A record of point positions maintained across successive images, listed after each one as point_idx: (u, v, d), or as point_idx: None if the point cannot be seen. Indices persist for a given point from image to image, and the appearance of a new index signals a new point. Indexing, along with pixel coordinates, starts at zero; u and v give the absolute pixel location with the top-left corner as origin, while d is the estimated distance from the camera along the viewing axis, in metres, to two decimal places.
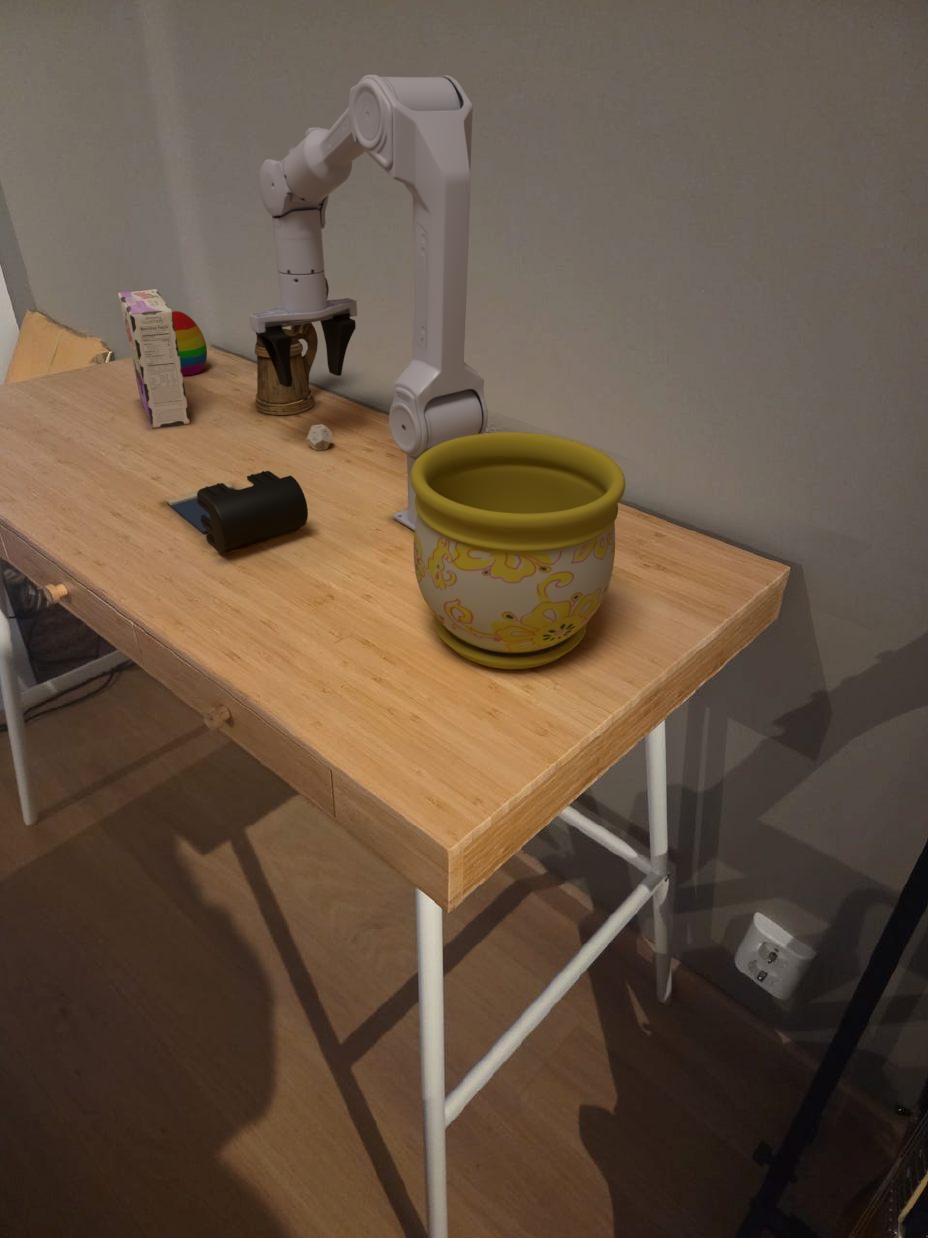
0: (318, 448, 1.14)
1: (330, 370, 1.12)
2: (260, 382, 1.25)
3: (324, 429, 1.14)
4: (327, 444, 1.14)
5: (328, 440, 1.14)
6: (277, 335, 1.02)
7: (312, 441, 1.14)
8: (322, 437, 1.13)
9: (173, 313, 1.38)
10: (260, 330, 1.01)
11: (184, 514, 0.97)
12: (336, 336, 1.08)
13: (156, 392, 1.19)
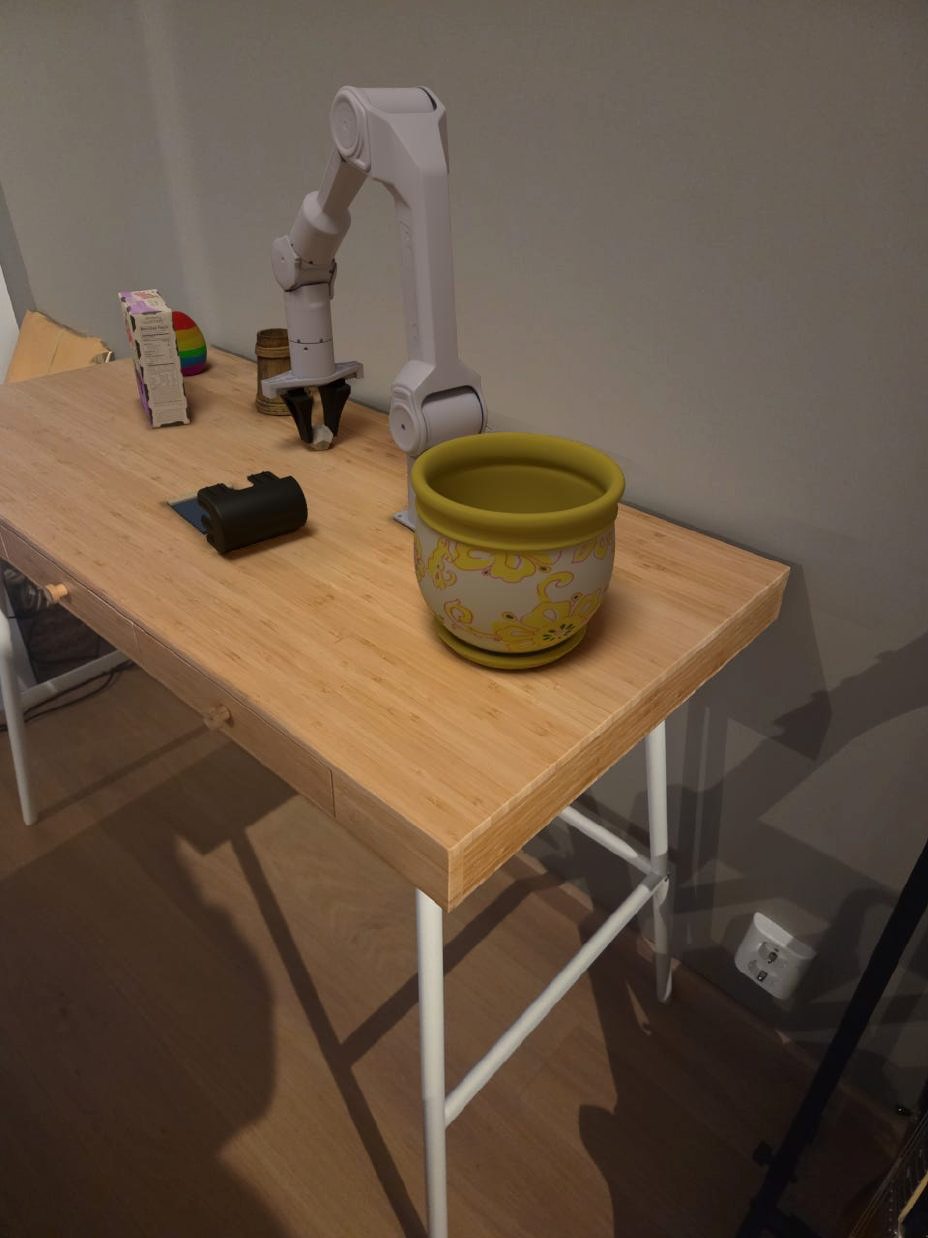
0: (319, 448, 1.15)
1: None
2: (260, 382, 1.25)
3: (325, 429, 1.14)
4: (328, 444, 1.14)
5: (329, 440, 1.14)
6: (300, 397, 1.08)
7: (313, 441, 1.14)
8: (322, 437, 1.13)
9: (173, 313, 1.38)
10: (271, 396, 1.06)
11: (184, 514, 0.97)
12: (332, 400, 1.12)
13: (156, 392, 1.19)
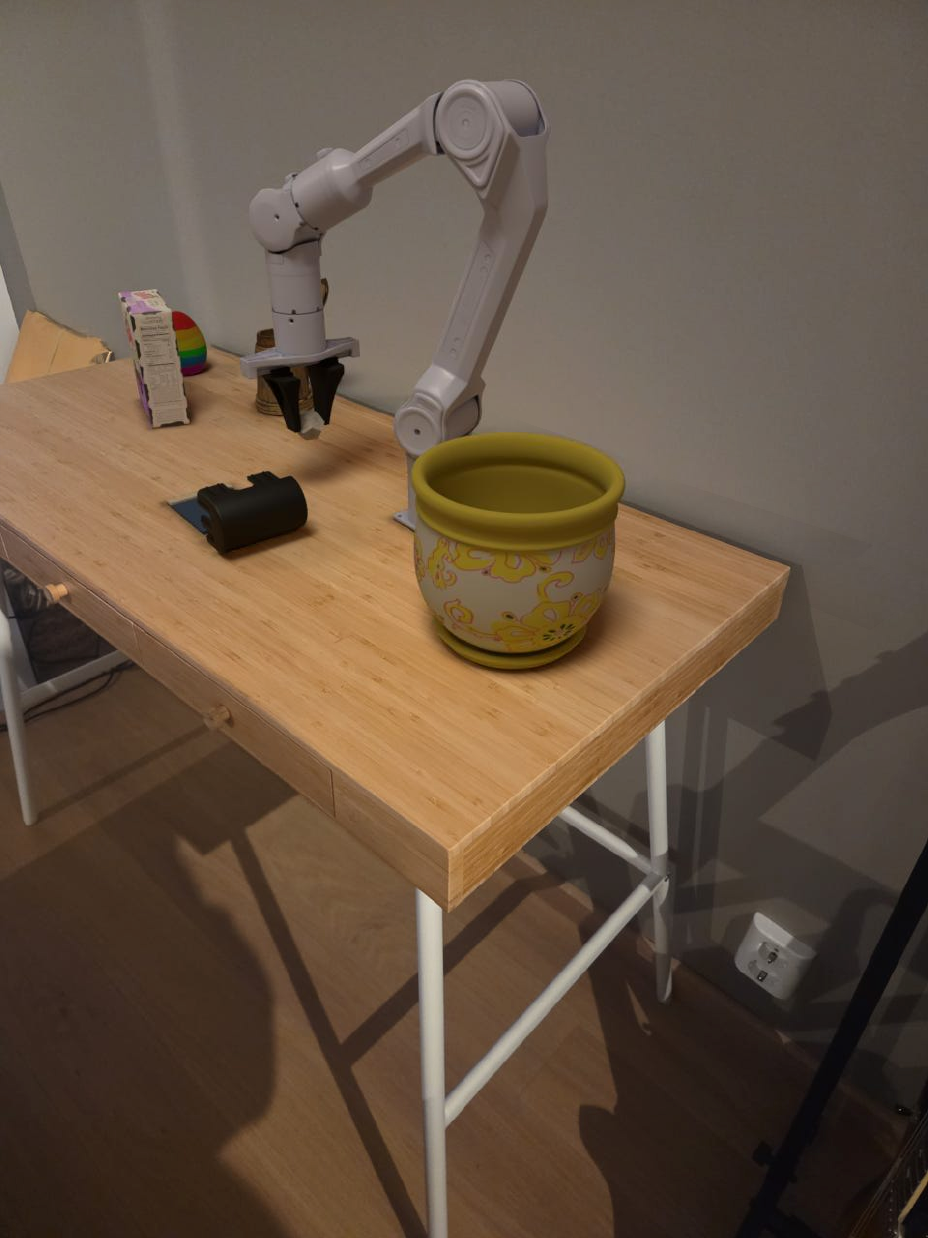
0: (308, 437, 0.99)
1: None
2: (260, 382, 1.25)
3: (314, 415, 0.98)
4: (318, 433, 0.99)
5: (319, 428, 0.99)
6: (285, 378, 0.93)
7: (301, 429, 0.98)
8: (312, 424, 0.98)
9: (173, 313, 1.38)
10: (251, 376, 0.91)
11: (184, 514, 0.97)
12: (323, 382, 0.97)
13: (156, 392, 1.19)
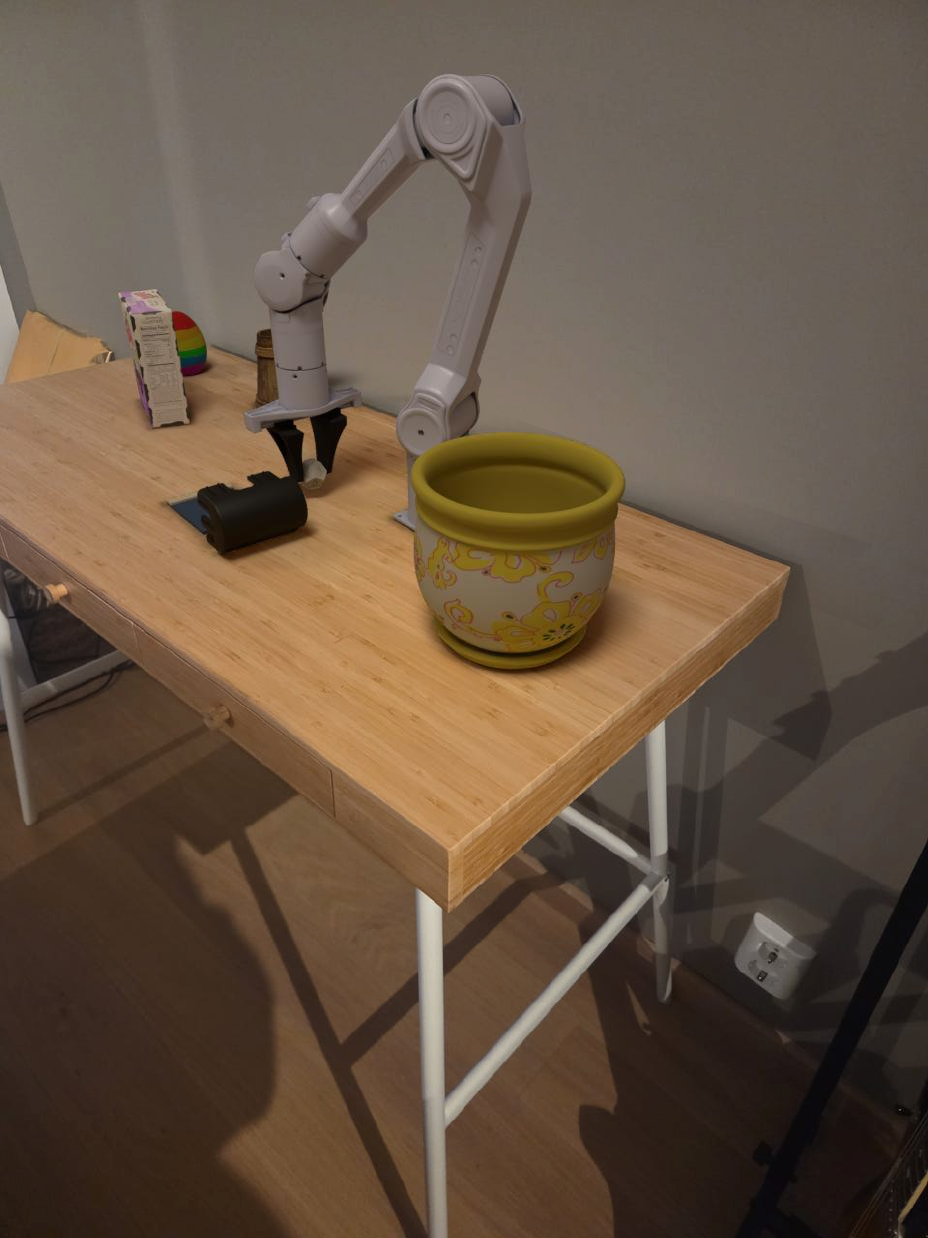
0: (310, 486, 1.01)
1: None
2: (260, 382, 1.25)
3: (317, 465, 1.00)
4: (321, 482, 1.01)
5: (322, 477, 1.00)
6: (288, 431, 0.94)
7: None
8: (315, 474, 0.99)
9: (173, 313, 1.38)
10: (255, 430, 0.92)
11: (184, 514, 0.97)
12: (326, 433, 0.98)
13: (156, 392, 1.19)
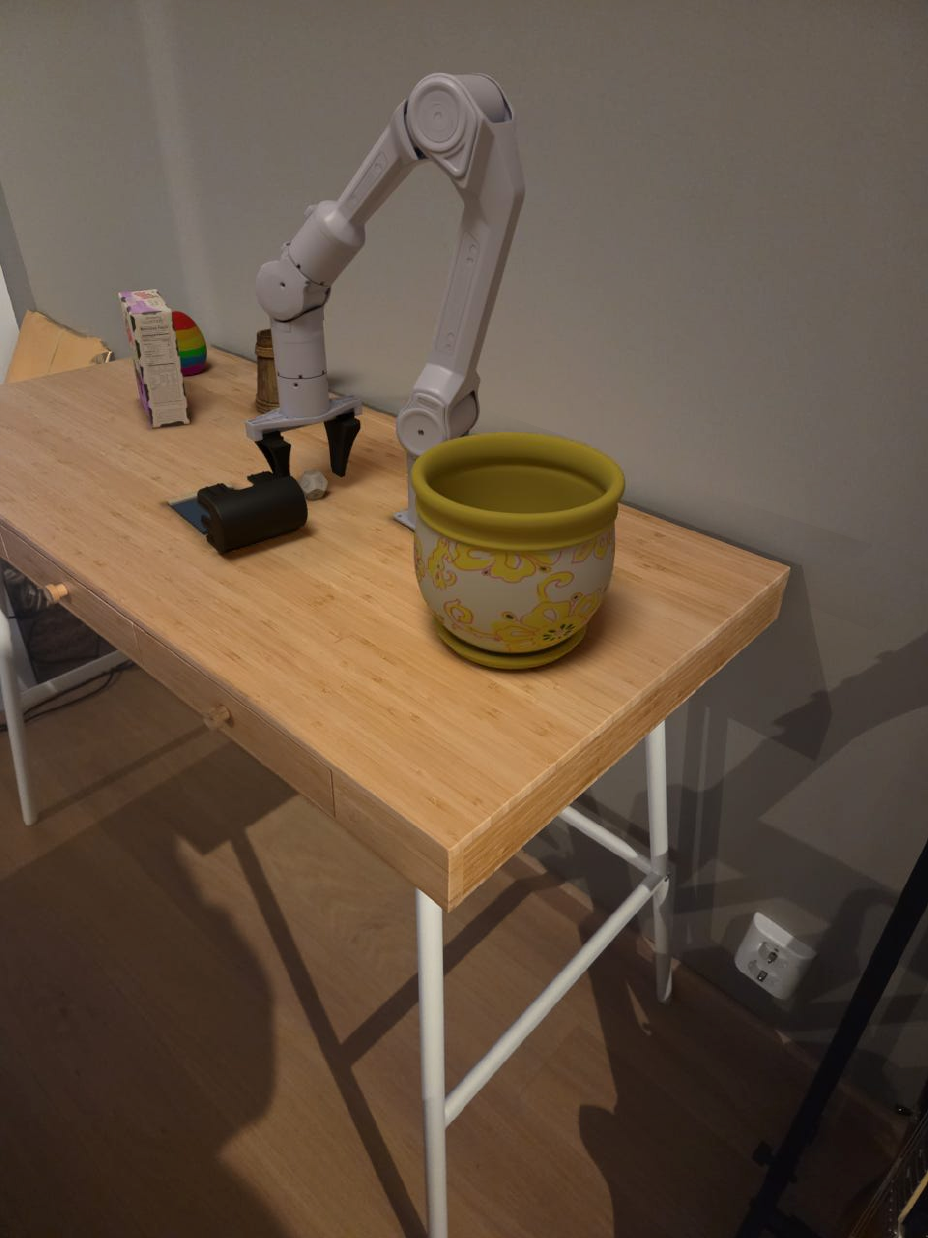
0: (311, 497, 1.01)
1: (333, 470, 1.04)
2: (260, 382, 1.25)
3: (318, 476, 1.01)
4: (321, 493, 1.01)
5: (323, 488, 1.01)
6: (275, 443, 0.94)
7: (304, 490, 1.01)
8: (315, 485, 1.00)
9: (173, 313, 1.38)
10: (257, 438, 0.93)
11: (184, 514, 0.97)
12: (339, 437, 1.00)
13: (156, 392, 1.19)
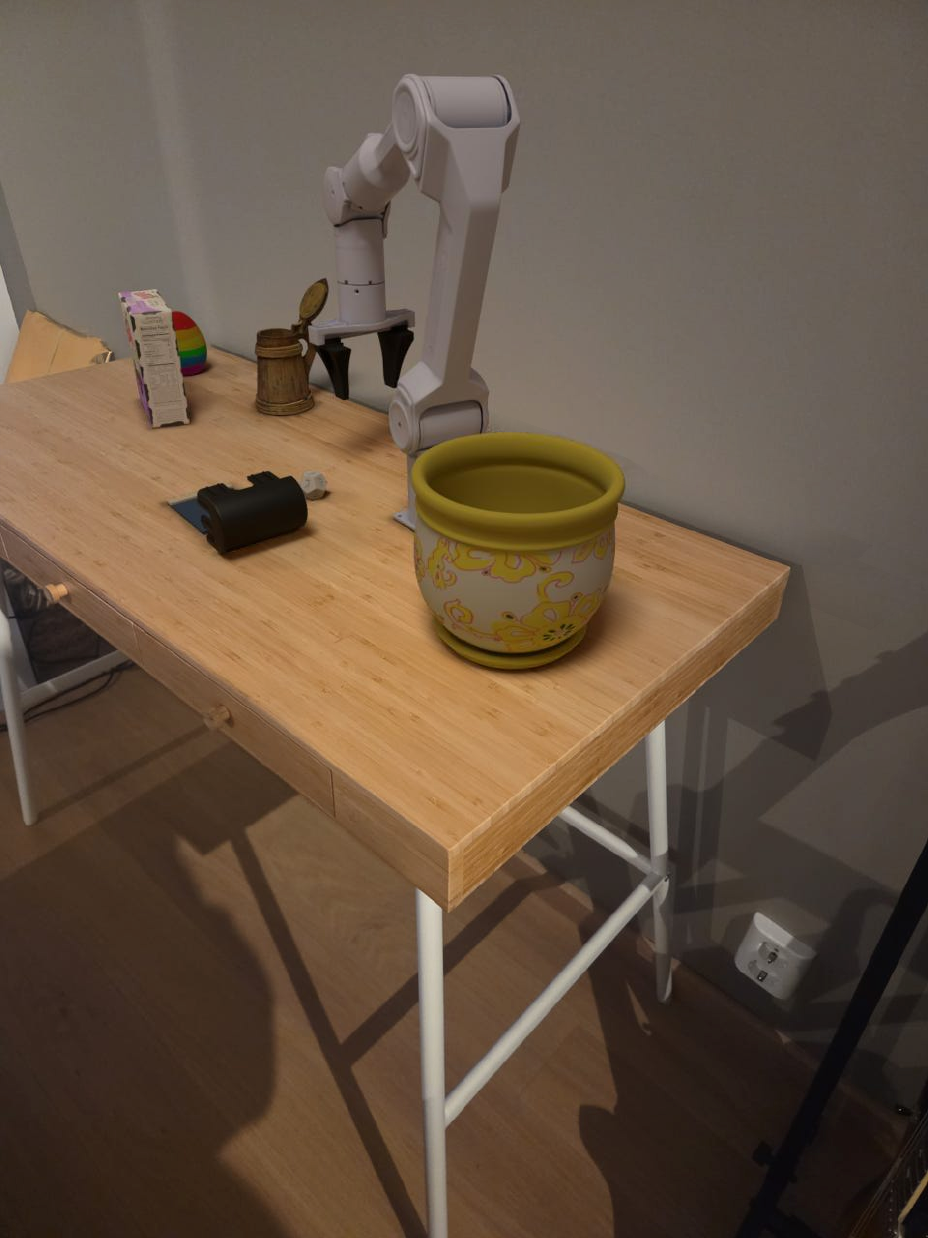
0: (311, 497, 1.01)
1: (386, 382, 1.09)
2: (260, 382, 1.25)
3: (318, 476, 1.01)
4: (321, 493, 1.01)
5: (323, 488, 1.01)
6: (336, 347, 0.99)
7: (304, 490, 1.01)
8: (315, 485, 1.00)
9: (173, 313, 1.38)
10: (319, 342, 0.98)
11: (184, 514, 0.97)
12: (394, 348, 1.05)
13: (156, 393, 1.19)
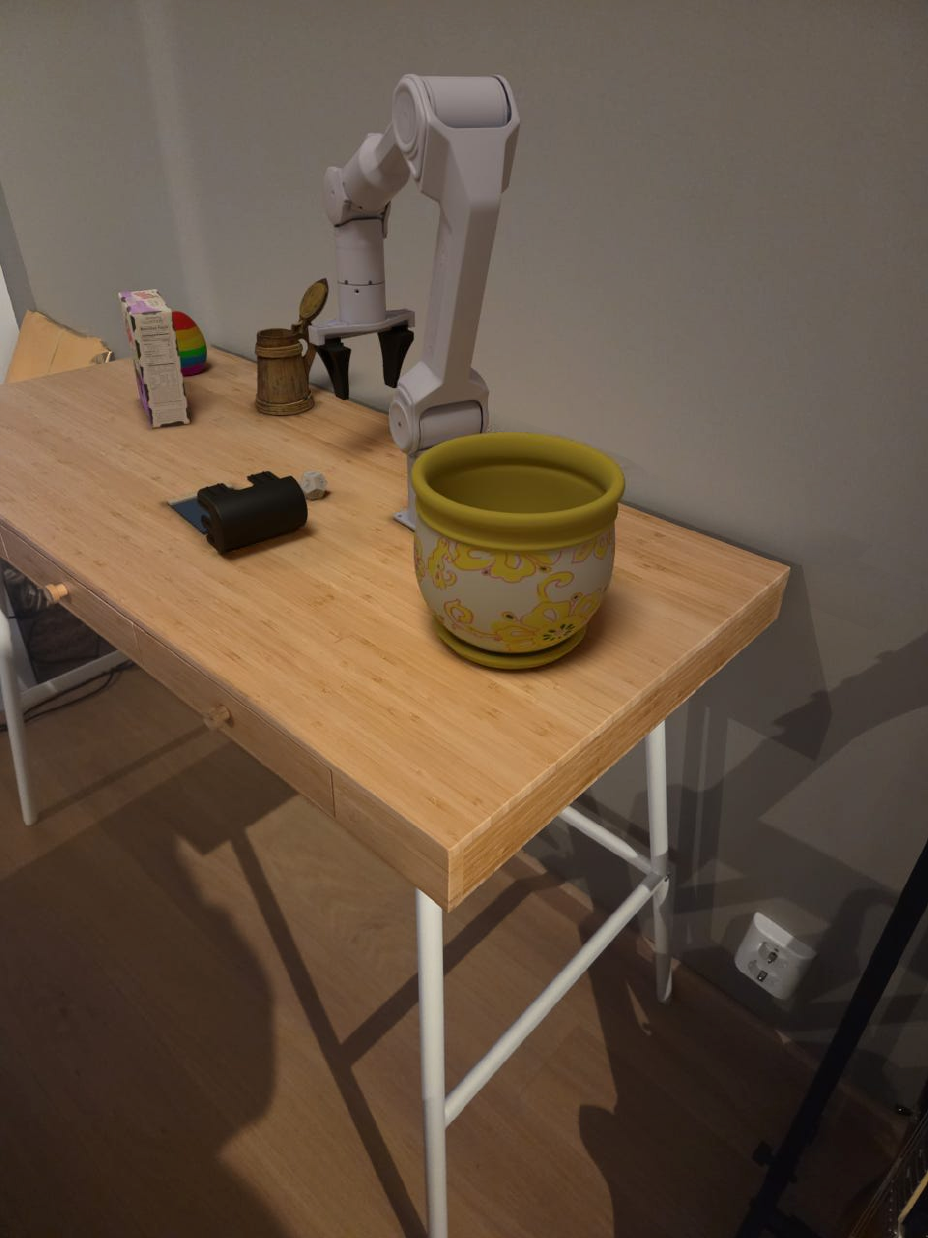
0: (311, 497, 1.01)
1: (386, 382, 1.09)
2: (260, 382, 1.25)
3: (318, 476, 1.01)
4: (321, 493, 1.01)
5: (323, 488, 1.01)
6: (336, 347, 0.99)
7: (304, 490, 1.01)
8: (315, 485, 1.00)
9: (173, 313, 1.38)
10: (319, 342, 0.98)
11: (184, 514, 0.97)
12: (394, 348, 1.05)
13: (156, 393, 1.19)
